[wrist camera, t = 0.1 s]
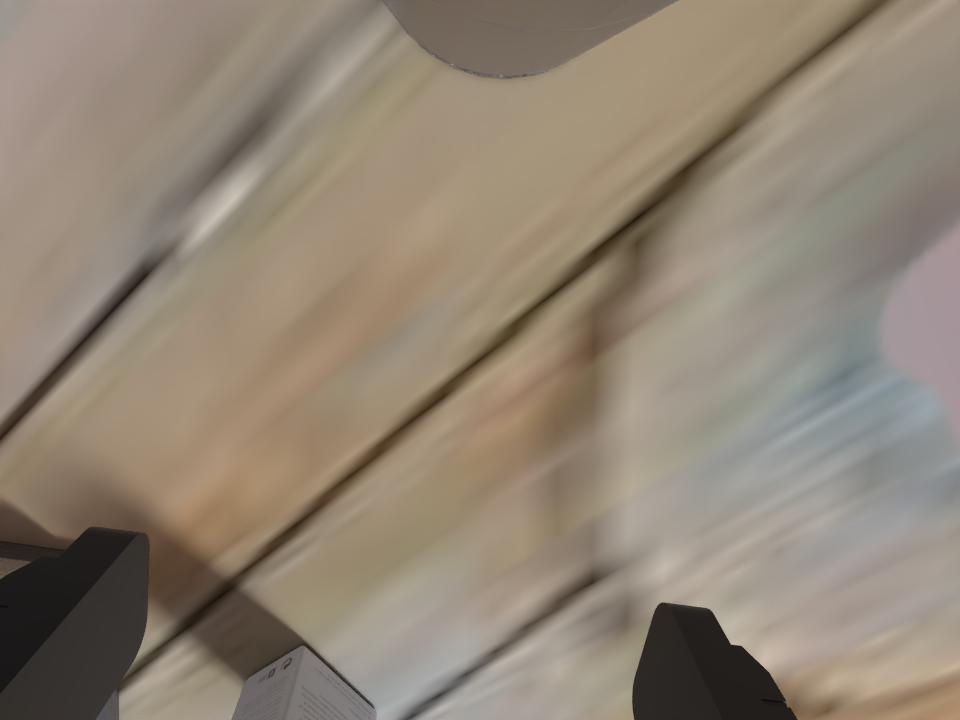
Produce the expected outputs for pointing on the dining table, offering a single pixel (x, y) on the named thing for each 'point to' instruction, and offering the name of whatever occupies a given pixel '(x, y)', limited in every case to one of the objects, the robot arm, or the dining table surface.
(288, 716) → the skincare box
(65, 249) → the dining table surface
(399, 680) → the dining table surface
